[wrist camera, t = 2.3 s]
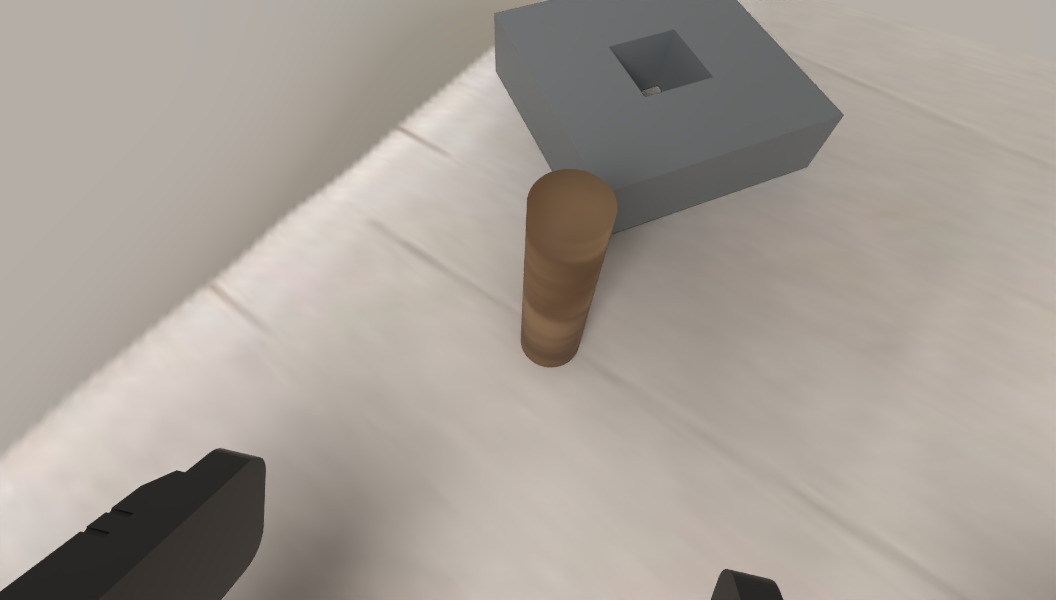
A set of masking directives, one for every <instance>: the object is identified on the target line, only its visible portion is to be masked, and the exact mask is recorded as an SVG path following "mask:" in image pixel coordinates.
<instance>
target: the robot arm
mask: <svg viewBox="0 0 1056 600" xmlns="http://www.w3.org/2000/svg"><path fill="white" fill-rule="evenodd" d="M265 476H266V466H265V462H264V460H263V459H262V458H260V457H256V456H252V455H248V454H243V453H239V452H235V451H231V450H226V449H222V448H219V449H215V450H213V451H212V452H210V453H209V454H208V455H206V456H205V457H204V458H203V459H201V460H200V461H199V462H198V463H196V464H195V465H194V466H193V467H191V468H190V469H189V470H188V471H186V472H181V471H177V470H176V471H174V472H172V473H170V474H167V475H165V476H163V477H160V478H158V479H156V480H154V481H151V482H149V483H147V484H144V485H142V486H140V487H139V488H138V489H136V490H135V491H134V492H132V493H131V494H130V495H128V496H127V497H126V498H124V499H123V500H122V501H120V502H119V503H118V504H116V505H115V506H114V507H112V510H111V511H110V513H107V512H106V513H104V514H103V515H102V516H100V517H99V518H98V519H96V520H95V521H94V522H92V523H91V524H90V525H88V526H87V529H86V530H85V531H84V532H79V533H78V534H76V535H75V536H74V537H72V538H71V539H70V540H68V541H67V542H66V543H64V544H63V545H62V546H60V547H59V548H58V549H56V550H55V551H54V552H52V553H51V554H50V555H48V556H47V557H46V558H44V559H43V560H42V561H40V562H39V563H38V564H36V565H35V566H34V567H32V568H31V569H30V570H28V571H27V572H26V573H24V574H23V575H22V576H20V577H19V578H18V579H16V580H15V581H14V582H12V583H11V584H10V585H8V586H7V587H6V588H4V589H3V590H2V591H0V600H221V599H222V598H223V597H224V596H225V594H226V593H227V592H228V591H229V590H230V588H231V587H232V586H233V585H234V583H235V582H236V581H237V580H238V579H239V577H240V576H241V575H242V574H243V573H244V571H245V570H246V569H247V568H248V566H249V565H250V563H251V562H252V560H253V558H254V556H255V554H256V552H257V550H258V548H259V545H260V542H261V539H262V534H263V527H264V502H265ZM711 600H783V598H782V595H781V593H780V590H779V588H778V586H777V584H776V583H775V582H774V581H773V580H771V579H767V578H763V577H759V576H755V575H750V574H746V573H742V572H738V571H733V570H729V569H725V570H723V571H722V572H721V574H720V576H719V578H718V581H717V584H716V586H715V589H714V592H713V595H712V598H711Z"/></svg>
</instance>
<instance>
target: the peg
mask: <svg viewBox="0 0 1056 600" xmlns="http://www.w3.org/2000/svg"><path fill="white" fill-rule="evenodd" d="M616 215H617V200H616V197H615V195H614V193H613V191H612V189H611V188H610V187H609V185H608V184H607V183H606V182H604V181H603V180H602V179H601V178H599V177H598V176H596V175H594V174H592V173H589V172H586V171H583V170H577V169H562V170H557V171H553V172H550V173H548V174H546V175H544V176H543V177H541V178H540V179H539V180H537V181H536V182H535V184H534V185H533V186H532V188H531V189H530V192H529V194H528V198H527V215H526V237H525V259H524V281H523V303H522V325H521V345H522V348H523V351H524V353H525V354H526V356H527V357H528V358H529V359H530V360H531V361H533V362H534V363H536V364H538V365H540V366H544V367H558V366H561V365H564V364H566V363H567V362H569V361H570V360H571V359H572V358H573V357H574V356H575V354H576V352H577V350H578V347H579V343H580V340H581V336H582V333H583V329H584V326H585V322H586V319H587V315H588V312H589V308H590V305H591V302H592V298H593V295H594V291H595V288H596V284H597V281H598V277H599V274H600V270H601V267H602V263H603V260H604V256H605V253H606V249H607V246H608V242H609V239H610V236H611V232H612V229H613V225H614V222H615V218H616Z"/></svg>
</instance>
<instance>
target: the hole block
mask: <svg viewBox="0 0 1056 600" xmlns="http://www.w3.org/2000/svg"><path fill="white" fill-rule="evenodd" d="M494 21H495V59H496V72H497V74H498V76H499V77H500V79H501V81H502V83H503V84H504V86H505V88H506V90H507V92H508V93H509V95H510V97H511V99H512V100H513V102H514V104H515V106H516V107H517V109H518V111H519V113H520V115H521V116H522V118H523V120H524V122H525V123H526V125H527V127H528V129H529V131H530V132H531V134H532V136H533V138H534V139H535V141H536V143H537V145H538V146H539V148H540V150H541V152H542V154H543V155H544V157H545V159H546V161H547V162H548V164H549V166H550V168H551V169H552V171H557V170H562V169H577V170H583V171H586V172H589V173H592V174H594V175H596V176H598V177H599V178H601V179H602V180H603V181H604V182H606V183H607V184H608V185H609V187H610V188H611V189H612V191H613V193H614V195H615V197H616V200H617V215H616V218H615V222H614V225H613V229H612V232H611V234H613V233H616V232H619V231H622V230H625V229H628V228H631V227H634V226H637V225H640V224H642V223H645V222H648V221H651V220H654V219H657V218H660V217H663V216H666V215H669V214H672V213H674V212H677V211H680V210H683V209H686V208H689V207H692V206H695V205H698V204H701V203H703V202H706V201H709V200H712V199H715V198H718V197H721V196H724V195H727V194H730V193H732V192H735V191H738V190H741V189H744V188H747V187H750V186H753V185H756V184H759V183H762V182H764V181H767V180H770V179H773V178H776V177H779V176H782V175H785V174H788V173H791V172H793V171H796V170H799V169H802V168H805V167H807V166H808V165H809V163H810V162H811V161H812V159H813V158H814V156H815V155H816V154H817V152H818V151H819V149H820V148H821V147H822V145H823V144H824V142H825V141H826V139H827V138H828V137H829V135H830V134H831V132H832V131H833V130H834V128H835V127H836V125H837V124H838V123H839V121H840V120H841V118H842V117H843V116H844V115H843V114H842V113H841V111H840V110H839V109H838V108H837V107H836V106H835V105H834V104H833V103H832V102H831V101H830V100H829V99H828V98H827V96H826V95H825V94H824V93H823V92H822V91H821V90H820V89H819V88H818V87H817V86H816V85H815V84H814V82H813V81H812V80H811V79H810V78H809V77H808V76H807V75H806V74H805V73H804V72H803V71H802V70H801V69H800V67H799V66H798V65H797V64H796V63H795V62H794V61H793V60H792V59H791V58H790V57H789V56H788V55H787V54H786V52H785V51H784V50H783V49H782V48H781V47H780V46H779V45H778V44H777V43H776V42H775V41H774V40H773V38H772V37H771V36H770V35H769V34H768V33H767V32H766V31H765V30H764V29H763V28H762V27H761V26H760V25H759V23H758V22H757V21H756V20H755V19H754V18H753V17H752V16H751V15H750V14H749V13H748V12H747V11H746V9H745V8H744V7H743V6H742V5H741V4H740V3H739V2H738V1H737V0H548V1H544V2H540V3H536V4H532V5H527V6H523V7H519V8H515V9H510V10H506V11H502V12H498V13H495V14H494ZM654 86H658V87H659V88H660V89H661V91H662V92H660V93H657V94H653V95H650V96H647V97H645V96H644V95H643V94H642V92H641V91H640V90H644V89H647V88H651V87H654Z"/></svg>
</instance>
